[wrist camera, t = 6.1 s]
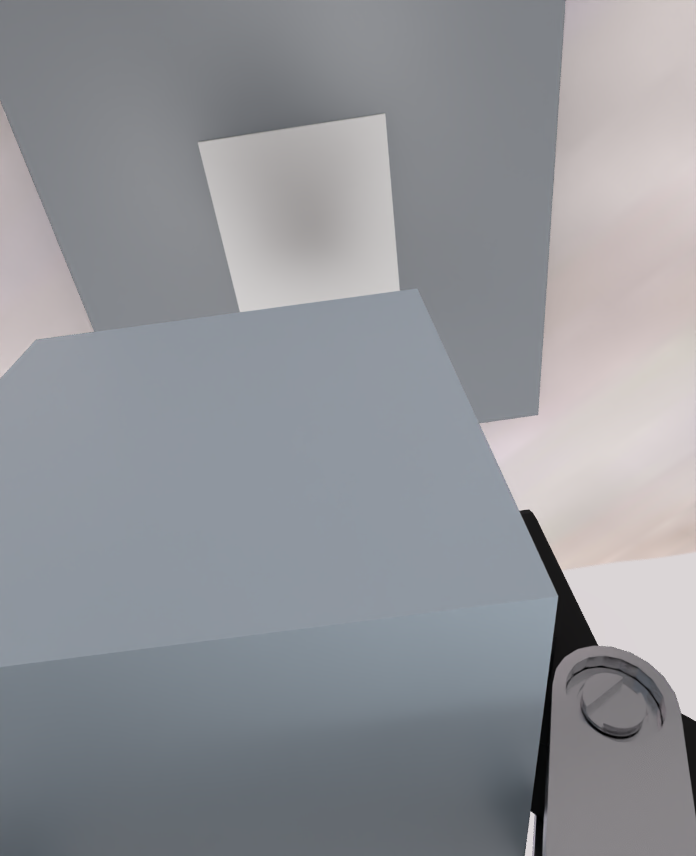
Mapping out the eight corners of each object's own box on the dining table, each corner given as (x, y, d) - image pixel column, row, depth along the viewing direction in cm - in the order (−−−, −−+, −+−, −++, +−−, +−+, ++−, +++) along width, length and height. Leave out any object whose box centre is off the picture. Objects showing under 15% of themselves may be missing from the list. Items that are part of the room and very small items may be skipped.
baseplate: (-29, -13, 20) (-51, -17, 18) (559, -107, 19) (575, -117, 18) (155, 456, 31) (149, 472, 30) (530, 402, 30) (539, 417, 29)
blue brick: (36, 339, 9) (-298, 704, 4) (417, 288, 9) (558, 596, 4) (178, 651, 13) (103, 1008, 8) (434, 619, 13) (510, 960, 8)
